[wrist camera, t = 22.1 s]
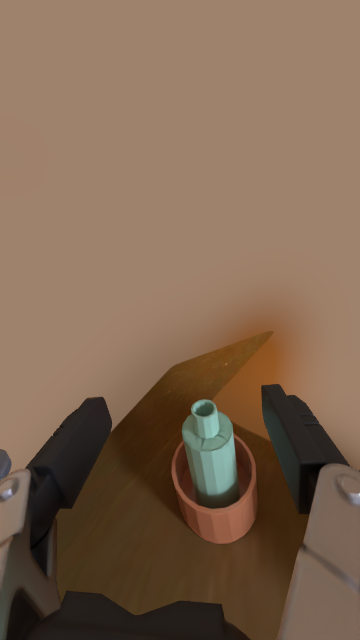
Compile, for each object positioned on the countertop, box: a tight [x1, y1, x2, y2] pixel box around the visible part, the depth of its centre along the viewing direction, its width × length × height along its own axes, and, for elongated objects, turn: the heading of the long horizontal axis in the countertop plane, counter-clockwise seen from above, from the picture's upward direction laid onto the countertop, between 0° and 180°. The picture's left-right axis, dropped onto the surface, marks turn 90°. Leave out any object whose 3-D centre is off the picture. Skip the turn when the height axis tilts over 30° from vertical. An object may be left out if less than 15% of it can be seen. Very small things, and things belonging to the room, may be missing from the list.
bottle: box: [182, 399, 239, 509], centre depth 25 cm, size 6×6×14 cm
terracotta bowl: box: [171, 433, 258, 544], centre depth 27 cm, size 11×11×6 cm
